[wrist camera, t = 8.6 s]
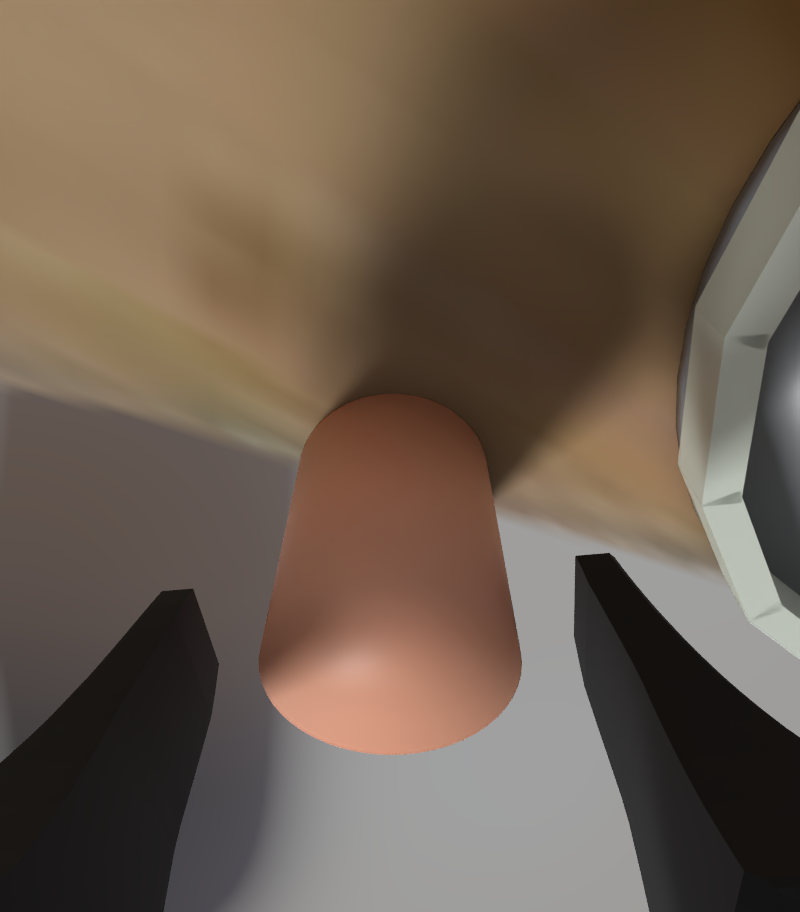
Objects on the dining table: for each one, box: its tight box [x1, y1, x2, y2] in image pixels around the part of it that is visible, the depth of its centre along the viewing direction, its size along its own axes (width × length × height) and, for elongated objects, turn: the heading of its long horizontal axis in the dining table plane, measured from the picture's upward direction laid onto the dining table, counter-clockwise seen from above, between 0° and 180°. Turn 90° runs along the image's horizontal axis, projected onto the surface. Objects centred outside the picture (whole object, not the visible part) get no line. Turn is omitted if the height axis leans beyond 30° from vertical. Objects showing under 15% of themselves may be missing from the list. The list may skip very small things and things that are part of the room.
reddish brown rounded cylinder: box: [259, 394, 522, 755], centre depth 15 cm, size 4×4×6 cm
